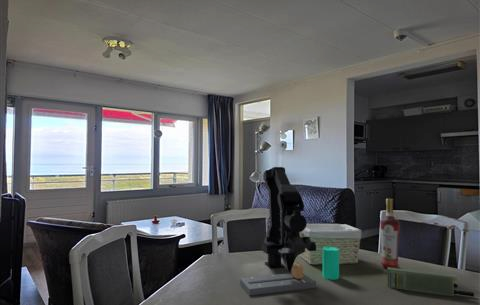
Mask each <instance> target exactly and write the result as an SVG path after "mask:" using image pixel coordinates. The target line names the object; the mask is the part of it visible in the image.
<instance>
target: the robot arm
mask: <svg viewBox="0 0 480 305" xmlns="http://www.w3.org/2000/svg"><path fill="white" fill-rule="evenodd" d="M262 176H263V178H262V179H263V182H264V185H265V187H266V189H267V190H268V203H269V204H268V208H269V209H268V210H269V212H268V213H269V226H268V229H267V231H266V232H265V234H266V235H265V238H264V241H263V242H262V244H261V247H260V248H261V251H262V252H263V253H265V254H267V261H264V265H266V266H267V267H269V269H273V268H283V267H284V268H285V270H286V271H287V273H292V266H293V264H294V263H295V261H296V258H297V257H298V256H300V254H301V253H304V252H305V248H306V249H307V250H308V251H316V244H315V242H313V241H311V240H310V238H309V237H300V232H302V231H303V230H304V229H305V228H306V225H307V224H308V222H307V219H306V218H305V216H304V215H302V214H301V213H302V212H304V211H305V204H304V201H303V197H302V195H301V193H300V191H299V190H298V189H297V188H296V186H295V187H294V186H293V185H291V182H290V180H289V178H288V175H287V173H286V168H285V167H283V166H274V167H271V168H269V169H266V170H265V171H264V172H263V175H262ZM282 262H283V263H282Z"/></svg>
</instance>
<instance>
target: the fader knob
mask: <svg viewBox="0 0 480 305" xmlns="http://www.w3.org/2000/svg"><path fill="white" fill-rule="evenodd" d="M291 273H292V276H294V277H295V278H296V279H300V278H303V273H304V266H303V265H302V264H300V263H298V262H294V264H293V266H292V269H291Z"/></svg>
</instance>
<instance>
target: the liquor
mask: <svg viewBox="0 0 480 305" xmlns="http://www.w3.org/2000/svg"><path fill="white" fill-rule="evenodd" d="M385 204H386V211H385V217H383V218H381V219H380V220H379V222H380V223H379V224H380V225H379V226H380V239H381V240H380V241H381V245H380V246H381V262H380V264H381V265H382V266H383V267H384V268H385V269H387V267H390V268H398V267H400V264H399V245H400V244H399V242H400V226H401V225H400V224H401V222H400V221H399V220H398V219H397V218H395V217H394V208H393V207H394V198H386V199H385Z"/></svg>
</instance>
